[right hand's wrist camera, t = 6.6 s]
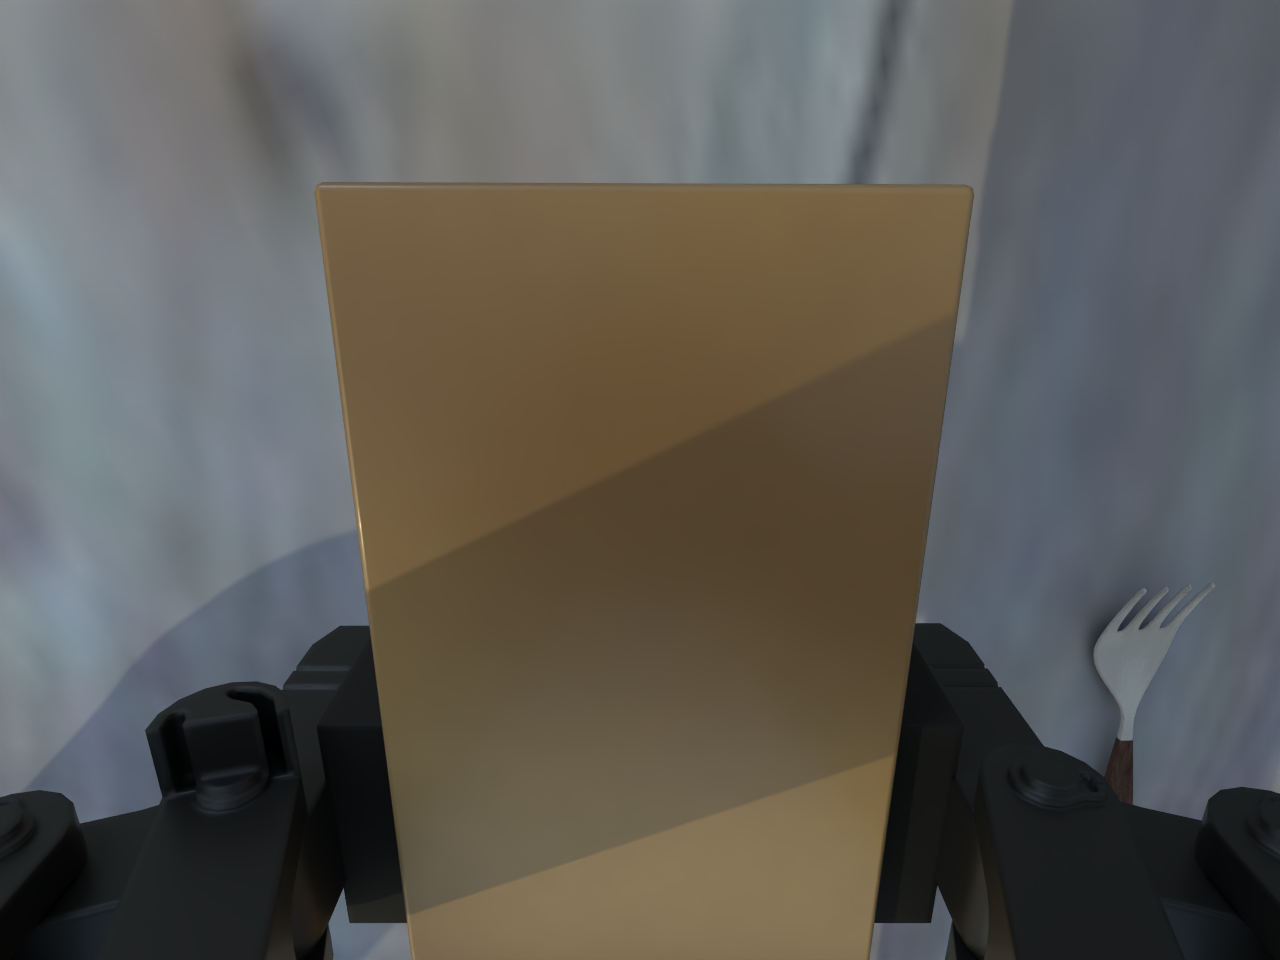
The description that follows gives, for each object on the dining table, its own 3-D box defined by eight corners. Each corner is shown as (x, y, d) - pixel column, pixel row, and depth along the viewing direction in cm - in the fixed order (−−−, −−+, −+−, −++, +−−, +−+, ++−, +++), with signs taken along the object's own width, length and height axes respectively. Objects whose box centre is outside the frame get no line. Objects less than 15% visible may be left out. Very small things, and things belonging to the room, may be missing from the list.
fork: (1057, 920, 32) (1084, 966, 30) (1101, 562, 26) (1137, 590, 24) (1122, 915, 32) (1153, 961, 30) (1180, 556, 26) (1223, 583, 24)
